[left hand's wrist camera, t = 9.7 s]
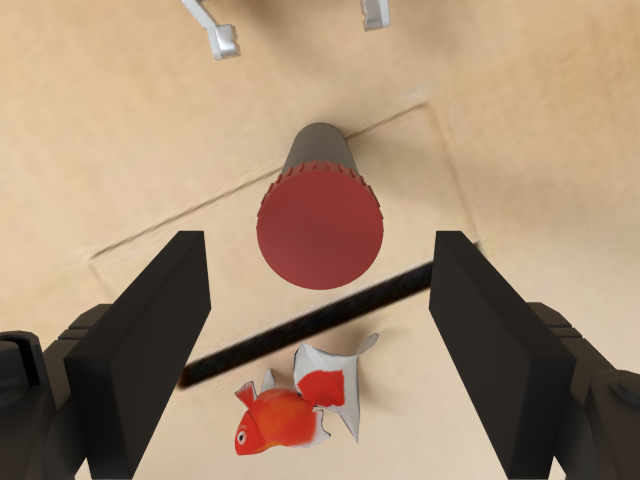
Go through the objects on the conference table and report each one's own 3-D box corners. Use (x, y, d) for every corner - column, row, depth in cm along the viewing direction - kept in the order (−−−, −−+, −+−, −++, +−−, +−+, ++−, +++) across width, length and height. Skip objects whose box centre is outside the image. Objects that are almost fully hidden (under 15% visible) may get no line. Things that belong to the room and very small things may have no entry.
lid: (375, 272, 20) (380, 292, 18) (262, 270, 20) (256, 290, 18) (383, 160, 18) (390, 170, 16) (259, 157, 18) (252, 167, 16)
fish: (185, 362, 37) (226, 461, 30) (339, 274, 42) (407, 341, 34) (227, 425, 44) (269, 518, 37) (356, 343, 48) (416, 412, 41)
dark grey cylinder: (346, 179, 37) (372, 281, 18) (292, 178, 37) (264, 279, 18) (349, 123, 35) (380, 175, 17) (292, 122, 35) (262, 172, 17)
